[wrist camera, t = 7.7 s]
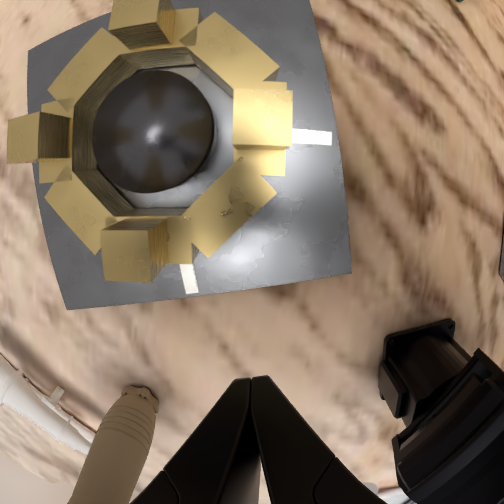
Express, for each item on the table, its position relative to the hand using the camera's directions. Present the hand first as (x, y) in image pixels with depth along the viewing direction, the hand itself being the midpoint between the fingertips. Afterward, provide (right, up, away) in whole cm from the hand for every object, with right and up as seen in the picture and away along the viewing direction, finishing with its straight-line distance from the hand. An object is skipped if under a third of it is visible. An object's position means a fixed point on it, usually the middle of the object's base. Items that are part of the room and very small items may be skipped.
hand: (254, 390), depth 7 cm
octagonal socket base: (-5, +10, +9) cm, 15 cm away
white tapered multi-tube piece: (-19, -10, +16) cm, 27 cm away
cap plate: (-5, +10, +11) cm, 16 cm away
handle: (-9, -9, +16) cm, 20 cm away
